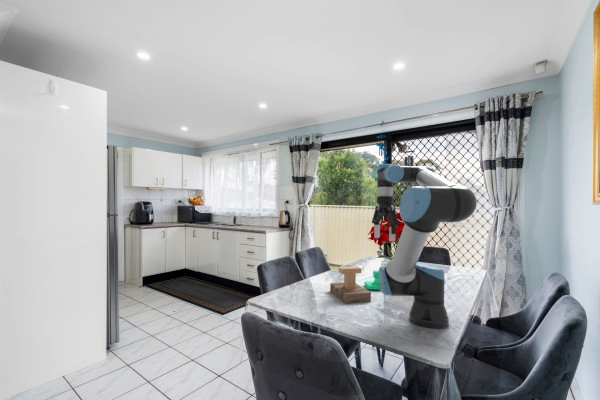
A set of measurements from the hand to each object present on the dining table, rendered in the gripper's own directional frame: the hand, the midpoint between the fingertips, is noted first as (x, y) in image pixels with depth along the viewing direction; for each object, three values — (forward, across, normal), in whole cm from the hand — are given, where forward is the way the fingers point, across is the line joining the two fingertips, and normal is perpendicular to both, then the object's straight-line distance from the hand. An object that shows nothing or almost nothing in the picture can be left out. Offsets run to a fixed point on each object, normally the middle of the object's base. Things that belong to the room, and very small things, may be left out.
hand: (384, 239), depth 140 cm
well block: (+32, +15, +11) cm, 37 cm away
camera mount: (+32, +26, -9) cm, 43 cm away
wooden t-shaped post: (+32, +15, +11) cm, 37 cm away
